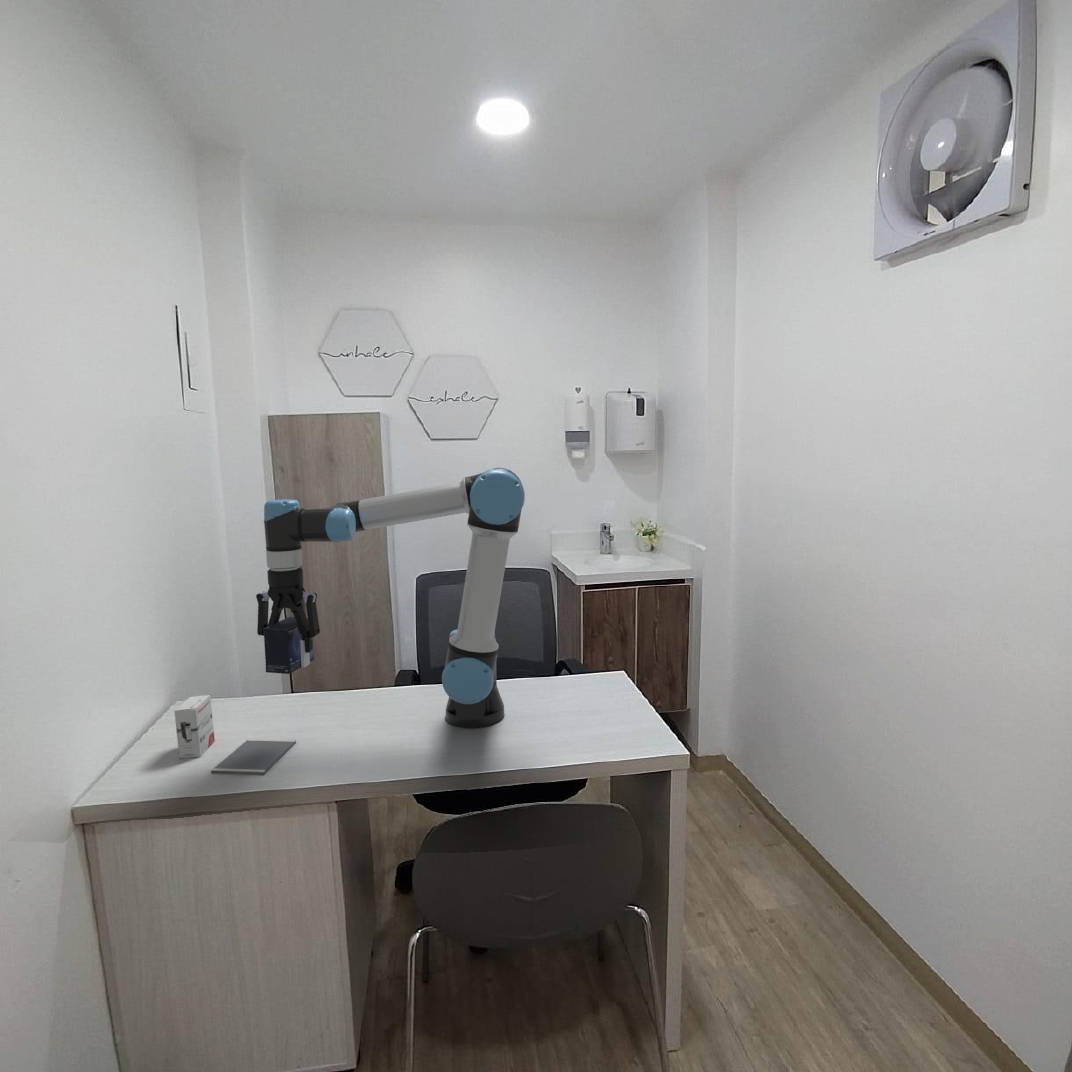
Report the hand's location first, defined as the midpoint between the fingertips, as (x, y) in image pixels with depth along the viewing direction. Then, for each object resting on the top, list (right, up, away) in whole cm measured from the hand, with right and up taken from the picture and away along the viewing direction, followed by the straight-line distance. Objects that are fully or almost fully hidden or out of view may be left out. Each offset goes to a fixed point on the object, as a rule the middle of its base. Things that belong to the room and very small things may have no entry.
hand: (290, 664), depth 149 cm
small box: (0, -1, 0) cm, 1 cm away
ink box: (-22, -20, +2) cm, 30 cm away
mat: (-7, -20, -3) cm, 22 cm away
